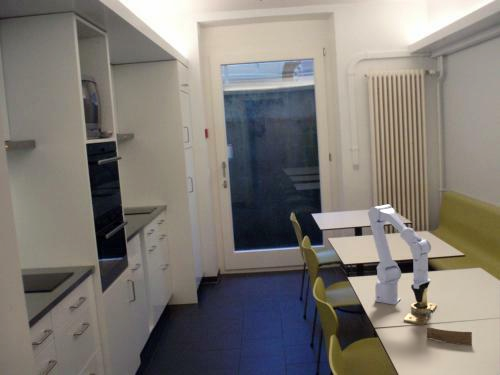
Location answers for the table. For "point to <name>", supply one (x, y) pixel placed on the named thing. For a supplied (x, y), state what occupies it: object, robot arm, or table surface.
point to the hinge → (420, 313)
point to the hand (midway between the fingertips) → (420, 299)
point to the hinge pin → (424, 300)
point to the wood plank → (450, 336)
